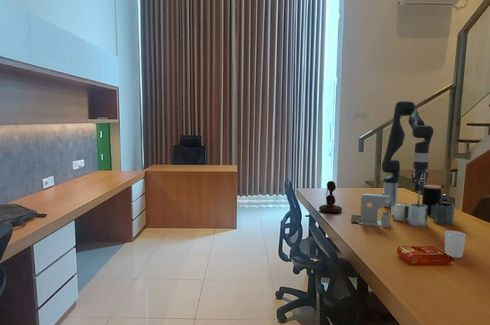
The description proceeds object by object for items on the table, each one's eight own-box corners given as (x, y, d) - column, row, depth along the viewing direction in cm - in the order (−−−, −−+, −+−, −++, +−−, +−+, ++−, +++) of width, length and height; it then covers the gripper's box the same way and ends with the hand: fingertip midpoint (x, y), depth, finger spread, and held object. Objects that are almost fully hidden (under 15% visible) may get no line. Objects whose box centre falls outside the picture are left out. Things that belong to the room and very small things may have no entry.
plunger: (410, 209, 204) (412, 181, 203) (414, 208, 209) (416, 180, 207) (421, 211, 200) (423, 183, 198) (425, 209, 204) (427, 181, 202)
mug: (407, 218, 218) (408, 204, 217) (407, 221, 211) (408, 206, 210) (391, 216, 222) (391, 202, 221) (390, 219, 215) (391, 205, 214)
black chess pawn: (319, 208, 242) (319, 179, 240) (341, 209, 239) (342, 180, 237) (319, 213, 228) (319, 183, 226) (342, 215, 225) (343, 184, 223)
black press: (428, 221, 210) (429, 193, 208) (433, 219, 216) (435, 191, 214) (450, 226, 202) (452, 196, 200) (454, 222, 208) (456, 194, 206)
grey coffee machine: (389, 222, 208) (391, 192, 206) (390, 227, 198) (391, 196, 196) (358, 219, 214) (360, 190, 212) (357, 224, 204) (359, 193, 202)
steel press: (401, 223, 207) (402, 204, 206) (407, 220, 214) (408, 202, 212) (422, 227, 199) (423, 208, 198) (428, 224, 205) (429, 205, 204)
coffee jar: (442, 216, 223) (444, 188, 221) (424, 215, 226) (425, 187, 224) (436, 211, 234) (438, 185, 232) (419, 211, 236) (421, 184, 234)
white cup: (439, 252, 160) (440, 230, 159) (455, 251, 161) (457, 230, 160) (451, 258, 153) (452, 236, 151) (468, 258, 153) (469, 235, 152)
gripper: (420, 162, 194) (419, 192, 196) (434, 160, 202) (432, 190, 204) (407, 160, 200) (406, 190, 202) (421, 159, 208) (419, 188, 210)
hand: (419, 190), depth 203 cm, fingers closed on plunger, 4 cm apart
